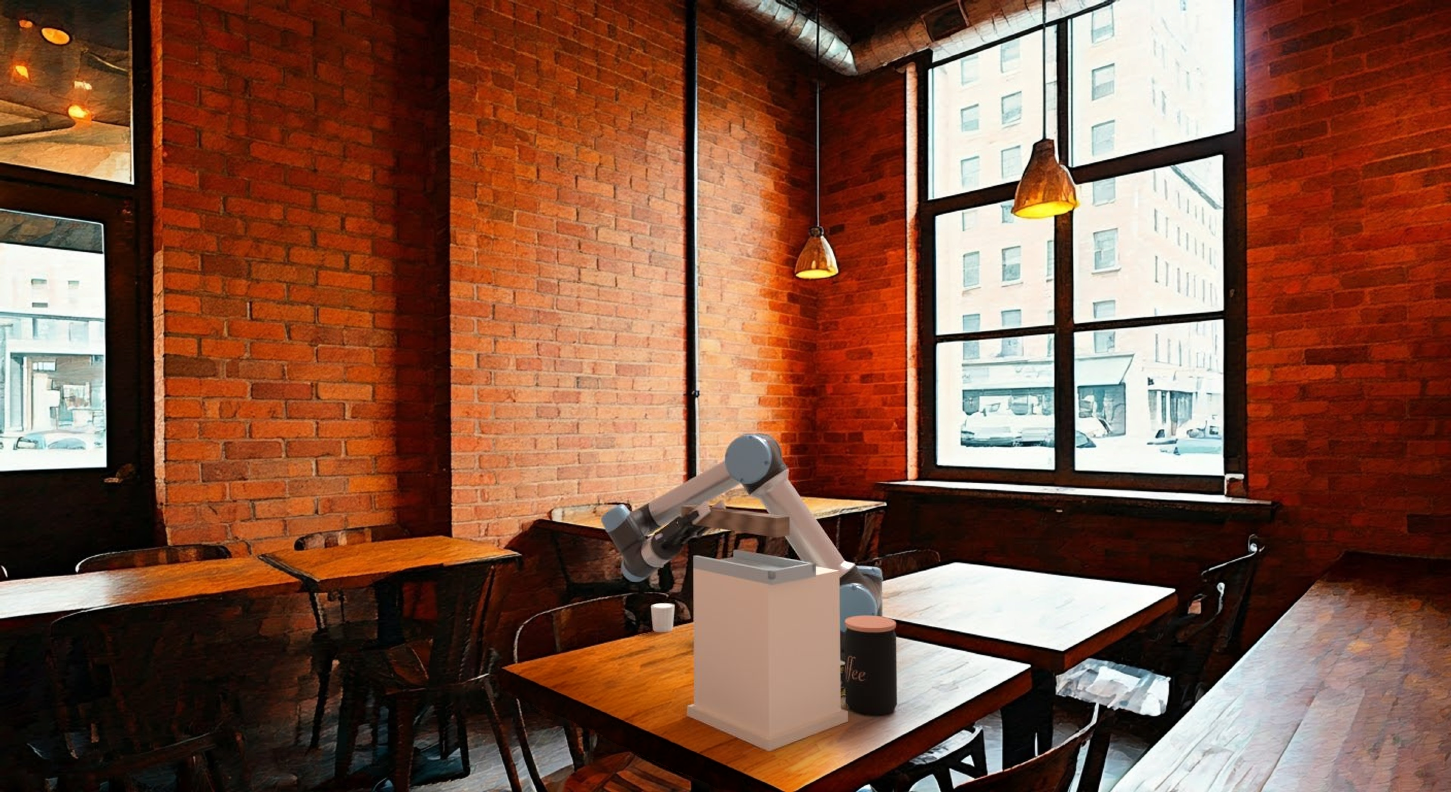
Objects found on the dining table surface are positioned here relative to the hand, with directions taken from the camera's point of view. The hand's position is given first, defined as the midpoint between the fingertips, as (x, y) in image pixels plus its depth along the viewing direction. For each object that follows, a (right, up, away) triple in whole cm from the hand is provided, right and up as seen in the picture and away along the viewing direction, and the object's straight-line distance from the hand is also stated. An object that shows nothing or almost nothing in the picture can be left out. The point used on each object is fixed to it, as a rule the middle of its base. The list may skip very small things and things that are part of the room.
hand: (715, 505), depth 186 cm
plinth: (+11, -40, -22) cm, 47 cm away
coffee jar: (+33, -40, -17) cm, 54 cm away
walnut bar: (+4, -4, -4) cm, 7 cm away
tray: (+7, -10, -24) cm, 27 cm away
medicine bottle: (+24, -41, -7) cm, 48 cm away
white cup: (-16, -42, +48) cm, 66 cm away
